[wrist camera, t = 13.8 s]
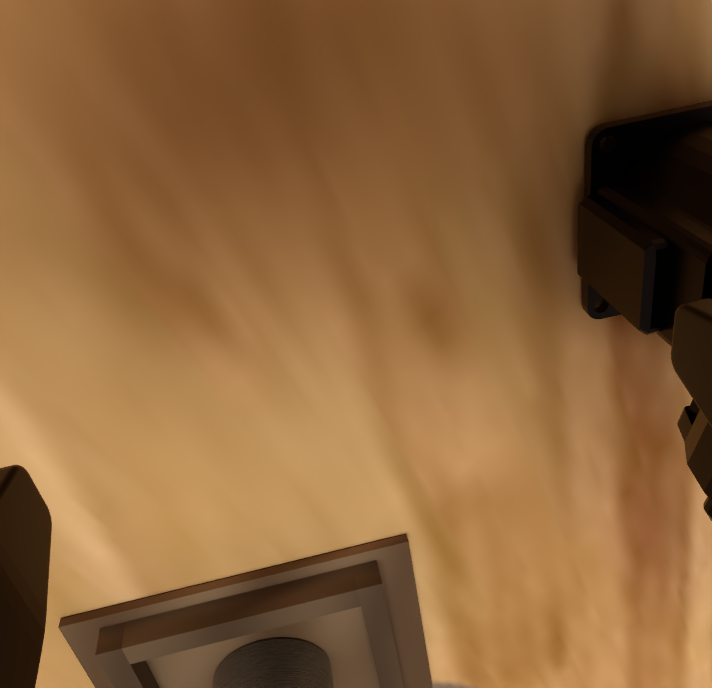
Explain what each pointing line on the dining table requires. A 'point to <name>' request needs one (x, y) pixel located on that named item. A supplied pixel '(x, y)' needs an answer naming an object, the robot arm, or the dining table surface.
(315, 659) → the grey cylindrical can
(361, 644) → the grey square tray
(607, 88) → the dining table surface
